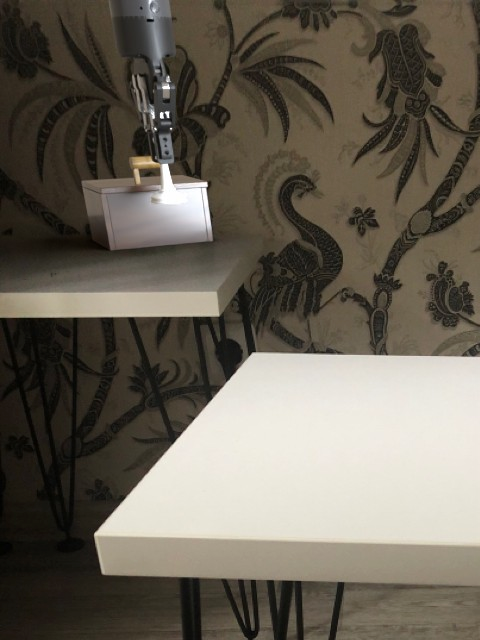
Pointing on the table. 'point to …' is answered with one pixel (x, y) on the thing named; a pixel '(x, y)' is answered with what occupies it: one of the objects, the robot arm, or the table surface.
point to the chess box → (147, 219)
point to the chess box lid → (141, 180)
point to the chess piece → (167, 189)
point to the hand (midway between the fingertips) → (163, 162)
